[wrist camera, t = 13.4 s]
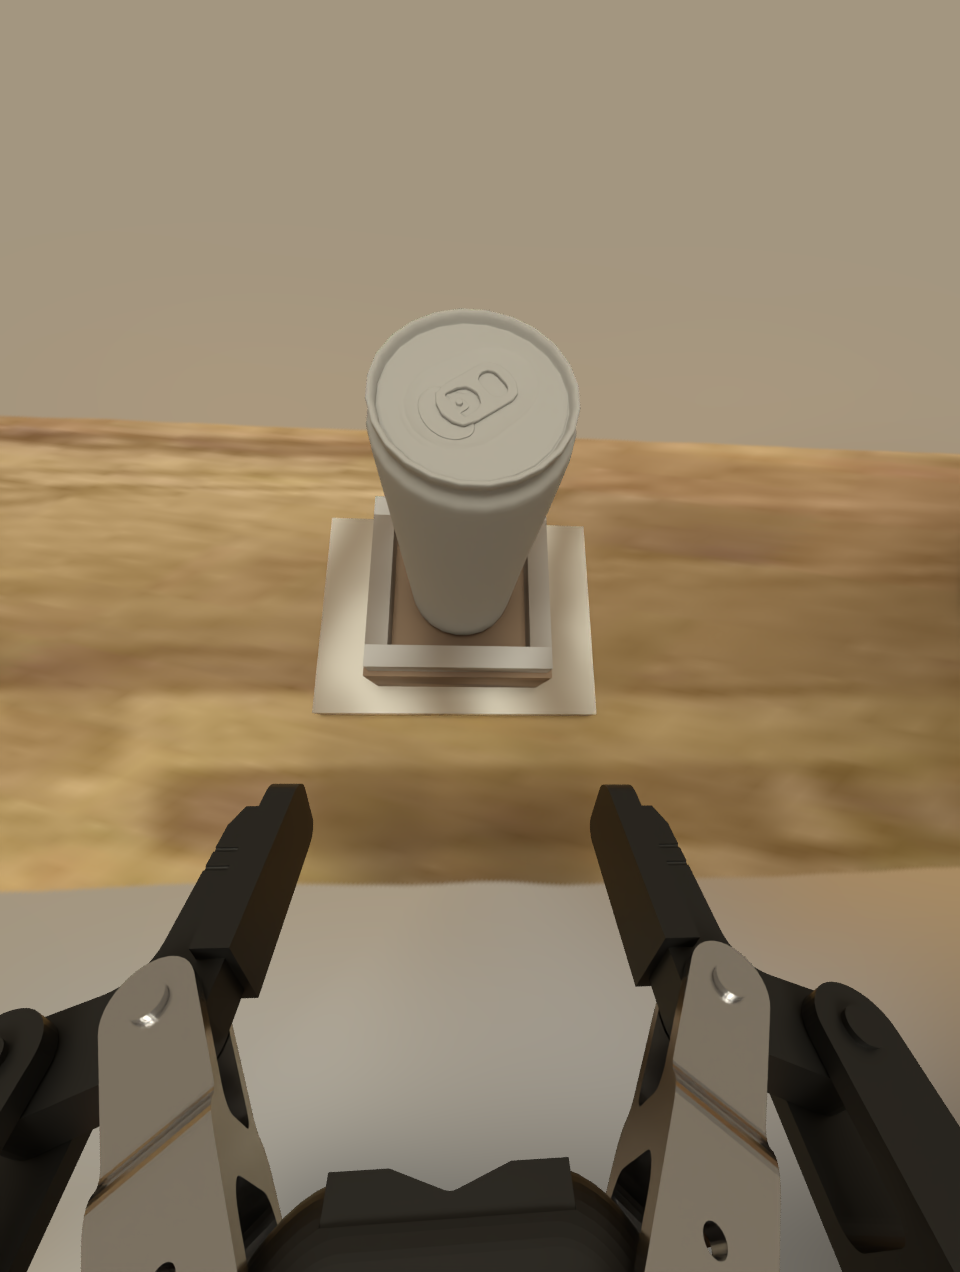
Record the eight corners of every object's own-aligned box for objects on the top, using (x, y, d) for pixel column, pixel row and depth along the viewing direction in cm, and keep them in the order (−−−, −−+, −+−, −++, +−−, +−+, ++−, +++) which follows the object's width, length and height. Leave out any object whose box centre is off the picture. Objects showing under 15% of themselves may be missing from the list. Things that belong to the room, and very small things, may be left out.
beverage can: (394, 581, 20) (312, 364, 8) (471, 531, 21) (493, 272, 9) (452, 657, 19) (450, 536, 7) (529, 601, 20) (633, 416, 8)
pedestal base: (576, 537, 27) (614, 475, 21) (587, 715, 24) (636, 708, 18) (338, 529, 26) (301, 462, 20) (320, 714, 23) (269, 705, 17)
